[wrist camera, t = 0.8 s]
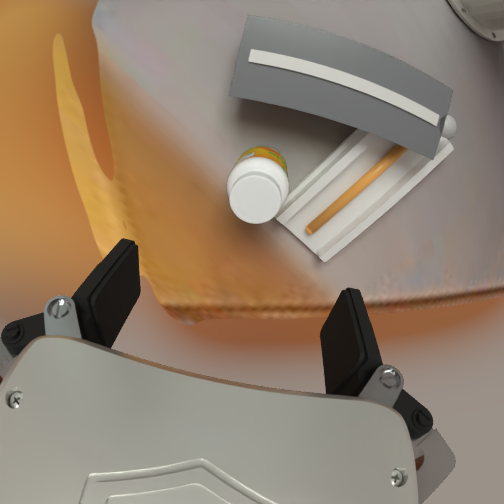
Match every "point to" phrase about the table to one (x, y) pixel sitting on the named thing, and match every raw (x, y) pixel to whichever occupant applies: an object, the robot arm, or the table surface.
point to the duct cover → (342, 83)
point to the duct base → (353, 190)
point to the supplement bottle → (258, 185)
